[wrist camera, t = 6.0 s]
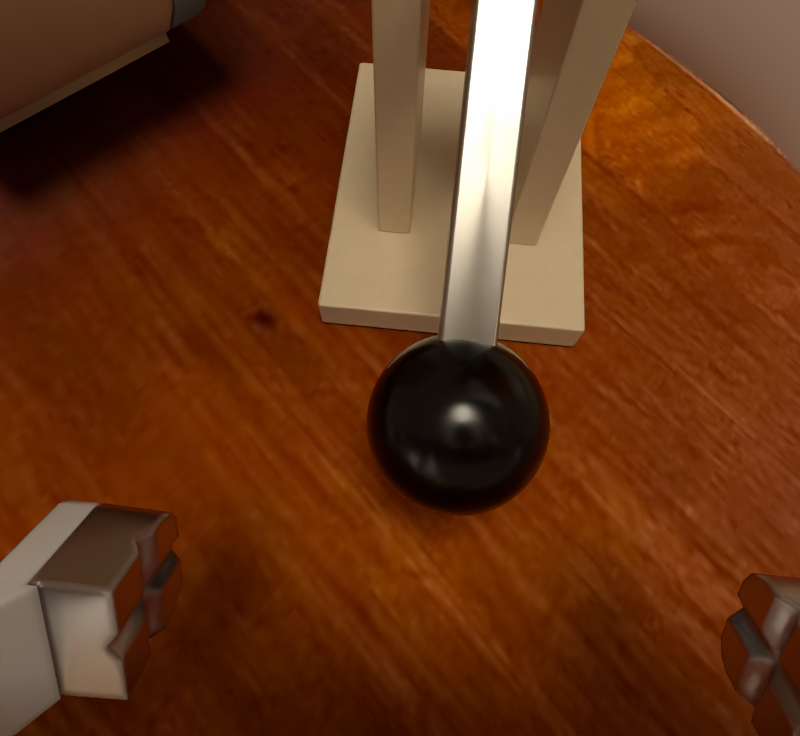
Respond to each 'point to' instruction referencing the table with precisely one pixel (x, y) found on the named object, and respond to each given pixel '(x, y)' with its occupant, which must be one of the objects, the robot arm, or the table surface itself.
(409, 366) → the lever
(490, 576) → the table surface
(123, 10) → the alarm clock
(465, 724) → the table surface
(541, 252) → the bracket
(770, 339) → the table surface
